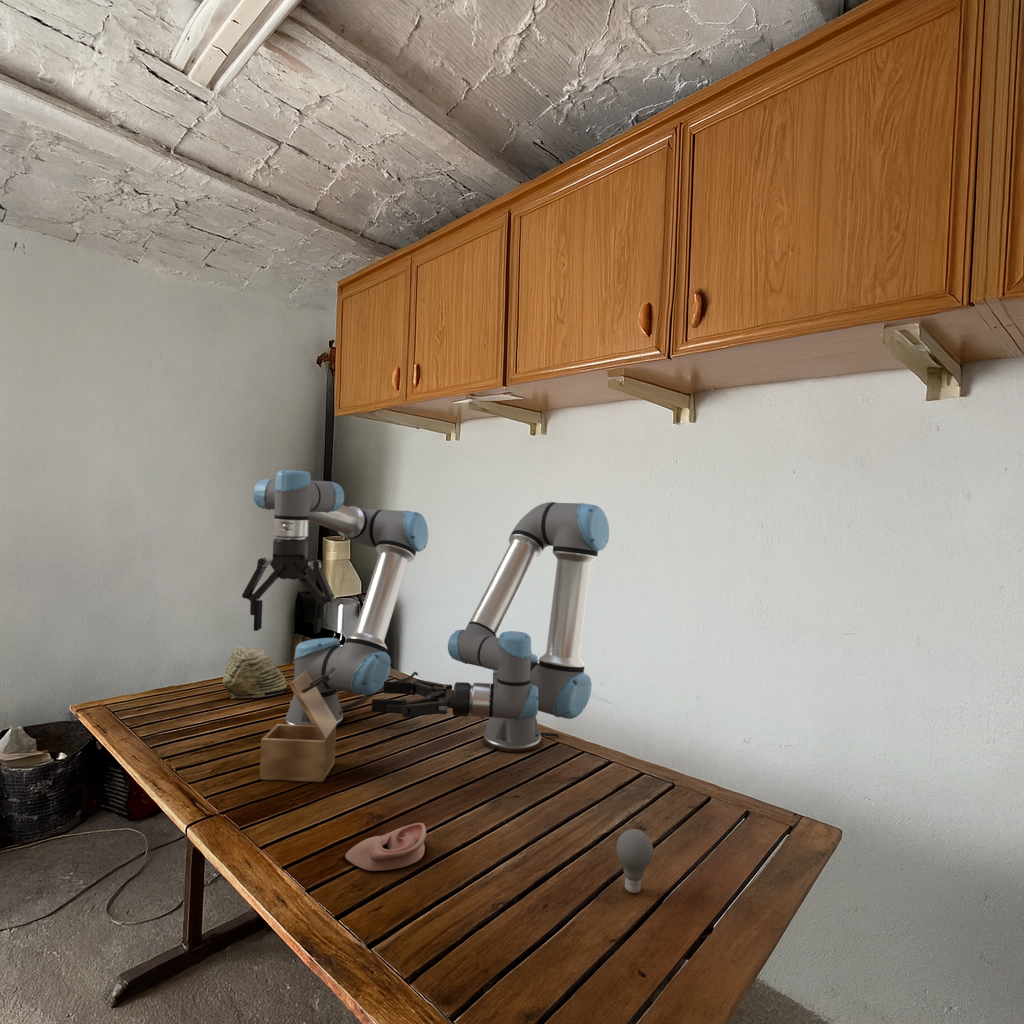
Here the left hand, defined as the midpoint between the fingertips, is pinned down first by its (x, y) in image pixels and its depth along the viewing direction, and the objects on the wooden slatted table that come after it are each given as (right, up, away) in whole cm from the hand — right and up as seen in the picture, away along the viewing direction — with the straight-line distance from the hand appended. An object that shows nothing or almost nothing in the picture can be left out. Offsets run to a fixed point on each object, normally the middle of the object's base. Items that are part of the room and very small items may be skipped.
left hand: (287, 631), depth 145 cm
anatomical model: (+29, -34, -31) cm, 55 cm away
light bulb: (+72, -36, -39) cm, 89 cm away
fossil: (-29, -30, +53) cm, 68 cm away
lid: (+6, -17, 0) cm, 18 cm away
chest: (+2, -32, +1) cm, 33 cm away
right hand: (+21, -15, +1) cm, 26 cm away
